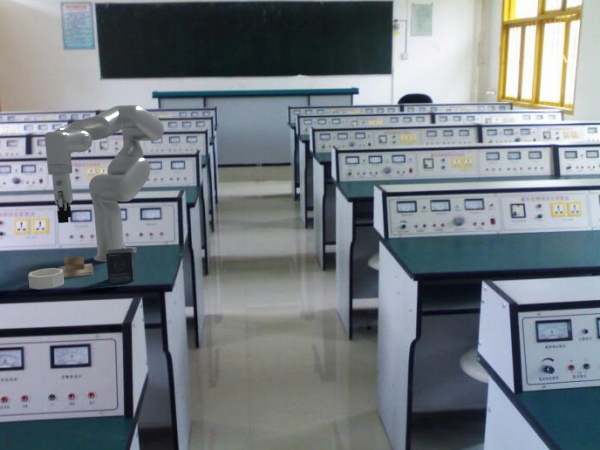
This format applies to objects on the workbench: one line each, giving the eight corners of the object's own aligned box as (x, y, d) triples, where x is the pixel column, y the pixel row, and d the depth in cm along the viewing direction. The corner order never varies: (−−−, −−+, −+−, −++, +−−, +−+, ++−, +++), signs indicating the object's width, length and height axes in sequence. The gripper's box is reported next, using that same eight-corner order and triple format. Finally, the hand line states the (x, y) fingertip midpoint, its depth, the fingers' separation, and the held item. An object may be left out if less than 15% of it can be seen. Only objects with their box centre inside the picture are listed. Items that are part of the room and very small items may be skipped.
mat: (94, 267, 218) (94, 266, 218) (93, 276, 207) (93, 275, 207) (57, 271, 215) (57, 269, 215) (55, 280, 204) (55, 278, 204)
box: (135, 278, 204) (132, 247, 202) (133, 283, 199) (131, 251, 197) (110, 280, 203) (108, 248, 201) (108, 285, 197) (105, 253, 195)
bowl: (64, 280, 204) (63, 267, 203) (62, 288, 194) (61, 274, 193) (32, 283, 201) (30, 270, 200) (28, 292, 191) (27, 278, 190)
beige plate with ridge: (92, 266, 218) (91, 252, 217) (91, 274, 207) (90, 259, 206) (59, 269, 214) (57, 255, 213) (56, 278, 204) (55, 262, 203)
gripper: (69, 171, 197) (74, 223, 200) (74, 166, 213) (78, 214, 217) (44, 172, 195) (49, 225, 199) (51, 167, 212) (56, 216, 215)
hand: (65, 219), depth 208 cm, fingers open, 9 cm apart
